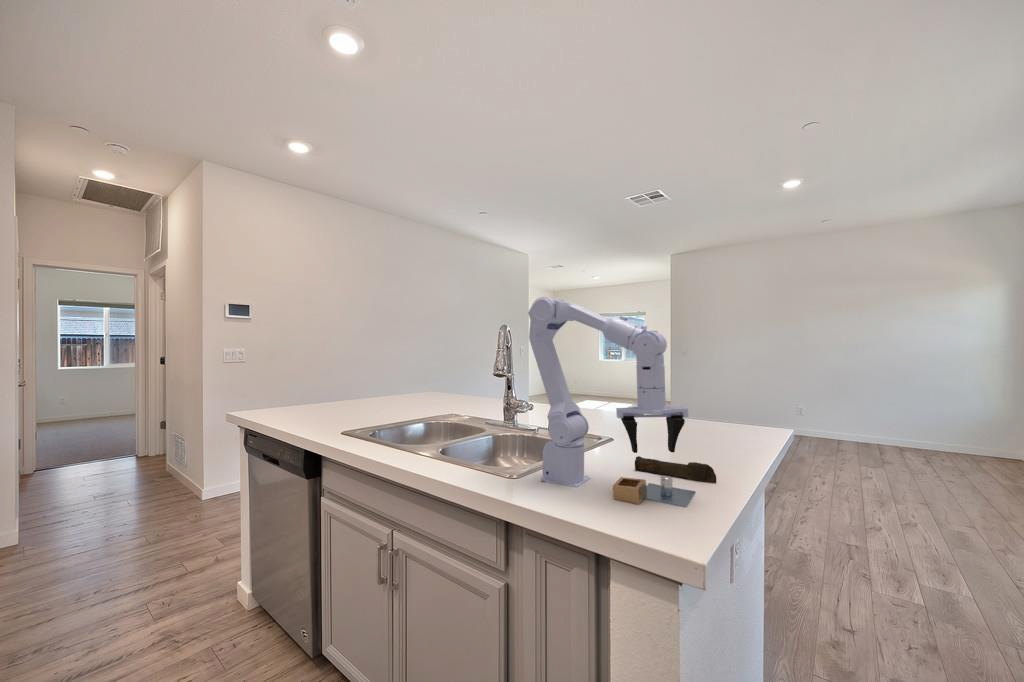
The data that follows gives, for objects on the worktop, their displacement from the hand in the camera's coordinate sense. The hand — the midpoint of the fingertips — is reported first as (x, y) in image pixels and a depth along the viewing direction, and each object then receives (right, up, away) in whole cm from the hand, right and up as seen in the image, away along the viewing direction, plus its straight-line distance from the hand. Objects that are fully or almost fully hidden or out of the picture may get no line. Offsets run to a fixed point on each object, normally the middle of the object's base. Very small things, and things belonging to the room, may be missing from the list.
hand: (653, 451), depth 91 cm
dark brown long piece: (+10, -10, +15) cm, 21 cm away
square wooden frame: (-5, -10, -1) cm, 11 cm away
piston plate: (+3, -10, +1) cm, 10 cm away
